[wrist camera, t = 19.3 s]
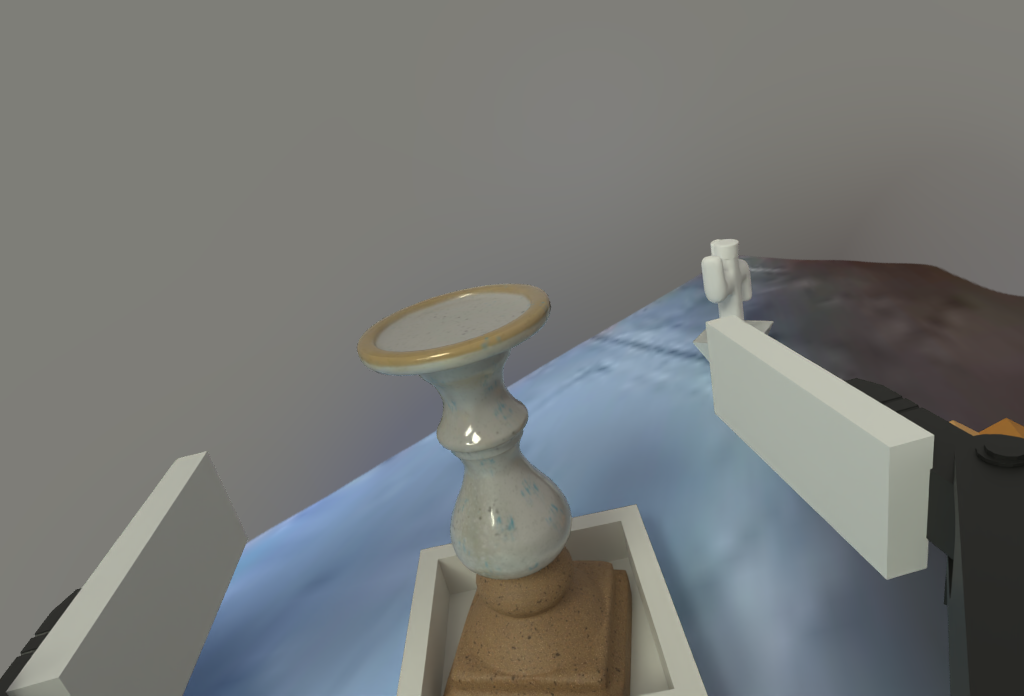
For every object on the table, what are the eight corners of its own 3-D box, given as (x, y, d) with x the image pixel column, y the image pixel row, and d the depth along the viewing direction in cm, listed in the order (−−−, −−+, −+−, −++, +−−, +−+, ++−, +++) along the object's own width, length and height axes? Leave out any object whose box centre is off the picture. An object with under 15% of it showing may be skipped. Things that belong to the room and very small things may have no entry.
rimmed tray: (409, 827, 32) (383, 772, 31) (436, 594, 48) (420, 549, 47) (722, 769, 31) (712, 709, 30) (644, 550, 47) (636, 504, 46)
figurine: (778, 345, 75) (769, 227, 69) (753, 379, 68) (741, 252, 63) (721, 341, 79) (708, 231, 74) (692, 373, 73) (676, 254, 68)
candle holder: (488, 590, 46) (395, 297, 37) (632, 587, 43) (568, 267, 34) (445, 729, 36) (306, 374, 27) (629, 738, 33) (537, 342, 25)
